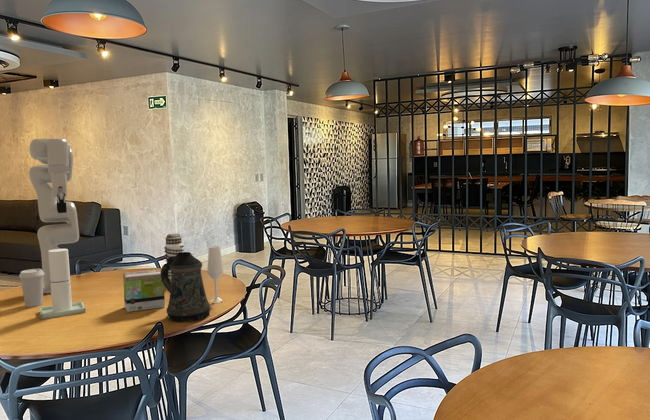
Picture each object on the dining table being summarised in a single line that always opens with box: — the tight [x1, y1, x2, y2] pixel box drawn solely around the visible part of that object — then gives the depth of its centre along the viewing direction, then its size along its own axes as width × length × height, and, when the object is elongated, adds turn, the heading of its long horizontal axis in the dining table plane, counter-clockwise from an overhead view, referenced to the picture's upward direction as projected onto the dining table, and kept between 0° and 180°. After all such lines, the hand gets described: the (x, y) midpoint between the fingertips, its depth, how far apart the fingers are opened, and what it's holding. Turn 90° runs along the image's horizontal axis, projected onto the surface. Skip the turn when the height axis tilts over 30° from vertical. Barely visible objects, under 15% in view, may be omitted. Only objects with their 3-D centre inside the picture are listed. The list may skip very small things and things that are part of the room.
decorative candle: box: [164, 233, 185, 281], centre depth 247 cm, size 9×9×25 cm
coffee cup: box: [18, 268, 44, 308], centre depth 215 cm, size 10×10×15 cm
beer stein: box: [160, 251, 211, 323], centre depth 194 cm, size 16×19×25 cm
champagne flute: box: [206, 245, 224, 302], centre depth 214 cm, size 7×7×24 cm
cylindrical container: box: [48, 248, 73, 312], centre depth 203 cm, size 7×7×25 cm
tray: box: [39, 300, 86, 320], centre depth 204 cm, size 12×16×2 cm
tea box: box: [122, 269, 166, 313], centre depth 208 cm, size 15×10×15 cm
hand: (61, 211), depth 203 cm, fingers open, 9 cm apart
